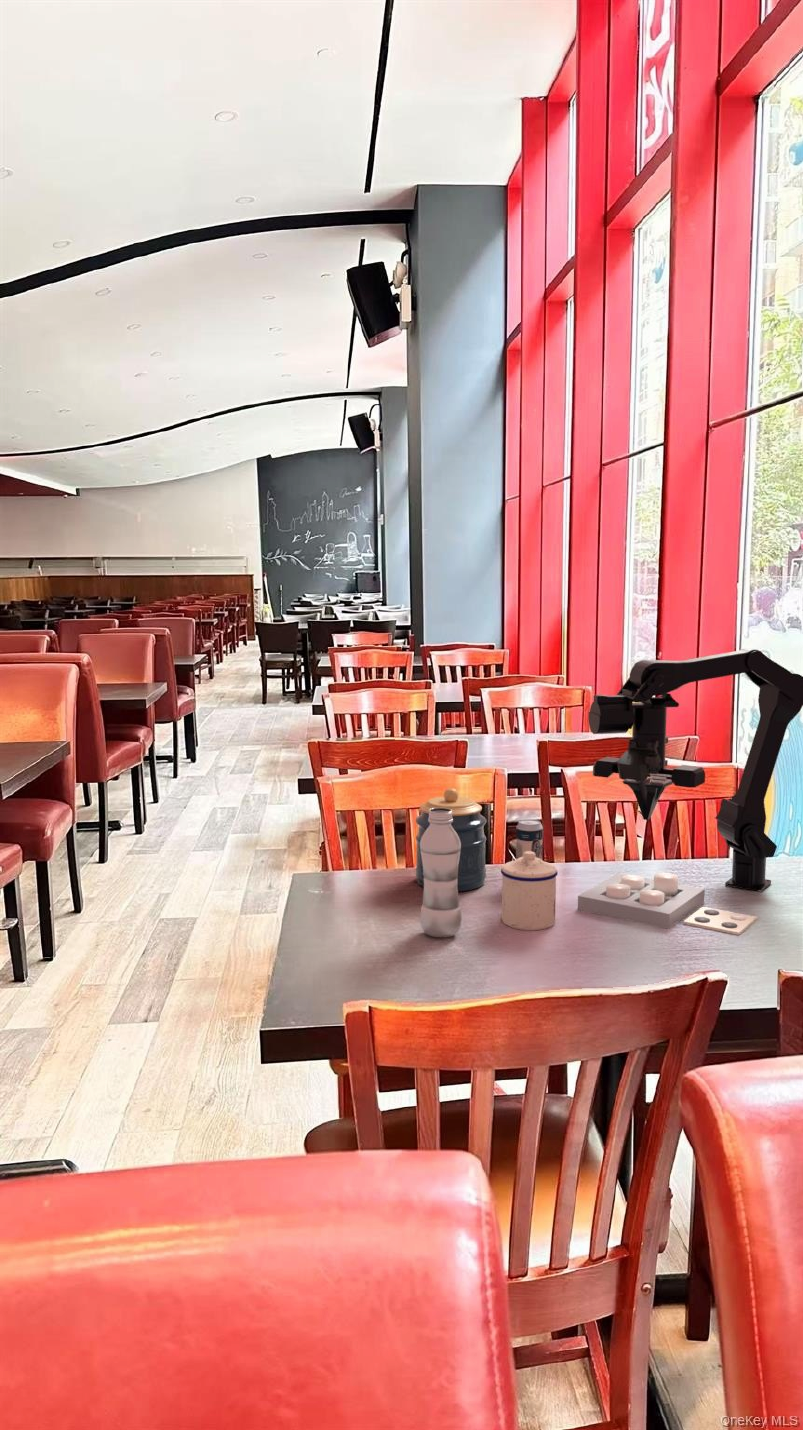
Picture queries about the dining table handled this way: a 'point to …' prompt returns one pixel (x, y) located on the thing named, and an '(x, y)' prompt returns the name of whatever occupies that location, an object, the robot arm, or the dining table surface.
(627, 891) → the button
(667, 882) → the button
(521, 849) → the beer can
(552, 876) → the teacup with lid
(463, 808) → the canister
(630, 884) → the button
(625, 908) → the board
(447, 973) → the dining table surface
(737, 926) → the card
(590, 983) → the dining table surface
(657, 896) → the button
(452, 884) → the plastic bottle
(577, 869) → the dining table surface
